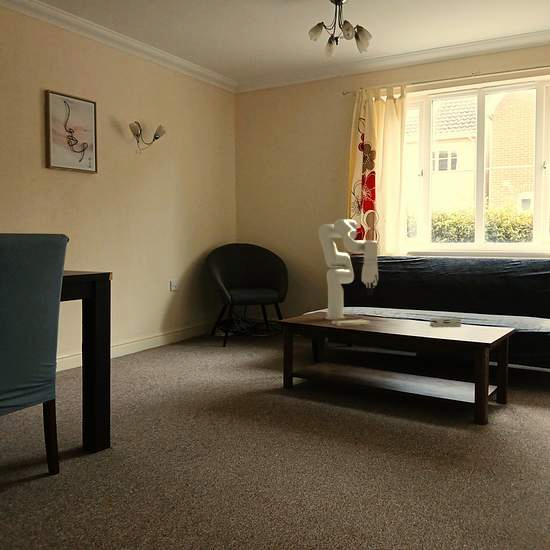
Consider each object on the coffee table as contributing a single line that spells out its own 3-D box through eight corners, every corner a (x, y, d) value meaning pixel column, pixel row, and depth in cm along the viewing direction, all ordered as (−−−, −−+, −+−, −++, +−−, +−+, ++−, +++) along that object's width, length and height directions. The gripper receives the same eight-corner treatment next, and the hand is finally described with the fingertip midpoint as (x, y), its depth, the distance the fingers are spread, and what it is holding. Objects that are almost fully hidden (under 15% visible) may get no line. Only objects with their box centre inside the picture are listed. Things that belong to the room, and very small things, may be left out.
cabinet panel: (332, 324, 326) (332, 318, 325) (360, 322, 335) (360, 316, 335) (342, 326, 317) (342, 320, 317) (370, 324, 326) (370, 318, 326)
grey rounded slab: (462, 326, 317) (455, 326, 327) (462, 318, 317) (454, 318, 327) (433, 327, 315) (427, 326, 325) (433, 318, 316) (427, 318, 325)
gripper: (357, 262, 322) (356, 294, 323) (373, 263, 309) (372, 296, 310) (367, 262, 325) (367, 293, 326) (384, 262, 312) (383, 295, 313)
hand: (369, 294), depth 318 cm, fingers closed
